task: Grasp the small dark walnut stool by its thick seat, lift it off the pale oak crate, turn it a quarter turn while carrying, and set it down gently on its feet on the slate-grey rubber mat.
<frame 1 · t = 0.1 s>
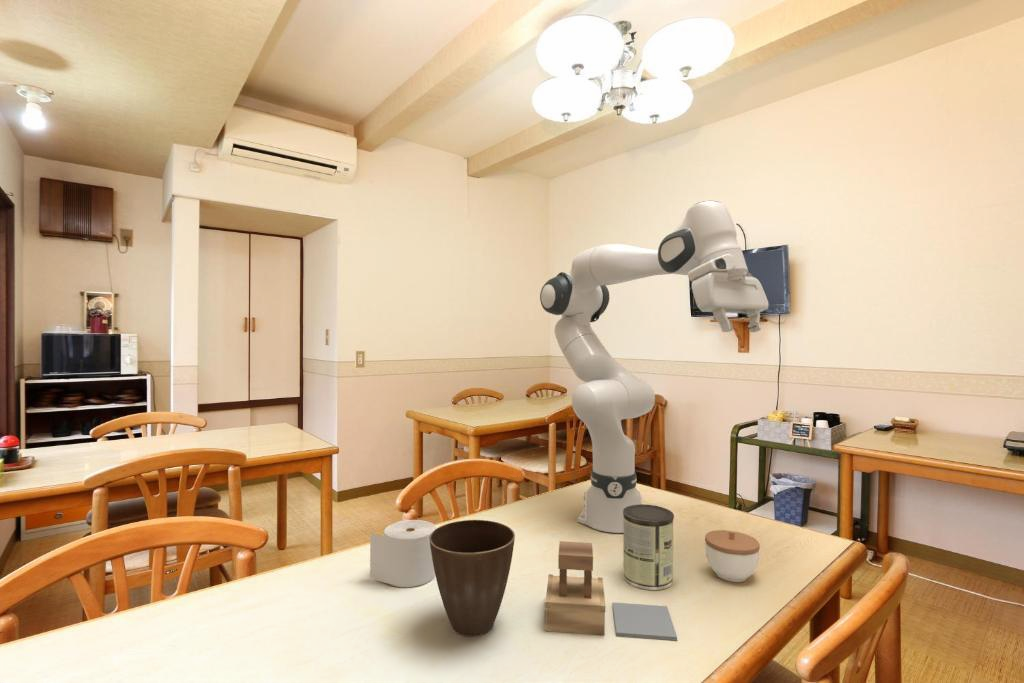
hand: (742, 331, 109), 52 cm above the table, tool tilted 20°, fingers open, 8 cm apart
coffee can: (647, 579, 110), on the table
toilet tissue: (407, 577, 110), on the table
mat: (642, 622, 94), on the table
plant pot: (471, 626, 92), on the table
lidded jar: (731, 576, 112), on the table
stool: (575, 589, 95), point 5 cm above the table, touching crate
crate: (575, 617, 95), on the table
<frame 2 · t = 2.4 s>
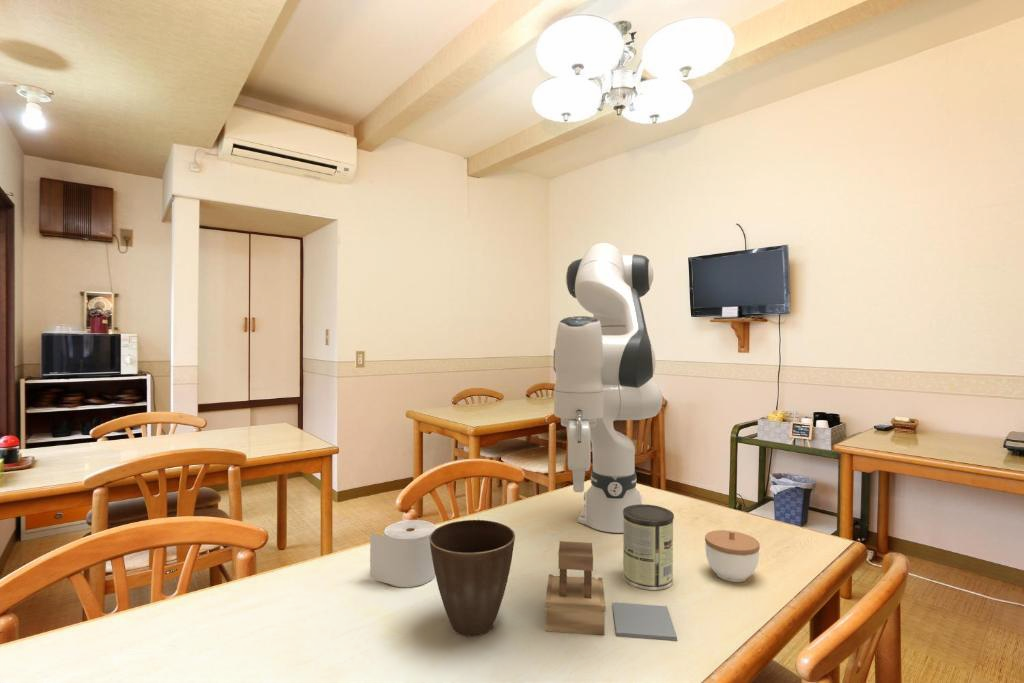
hand: (578, 483, 95), 24 cm above the table, tool pointing down, fingers open, 8 cm apart
nothing on the table moved.
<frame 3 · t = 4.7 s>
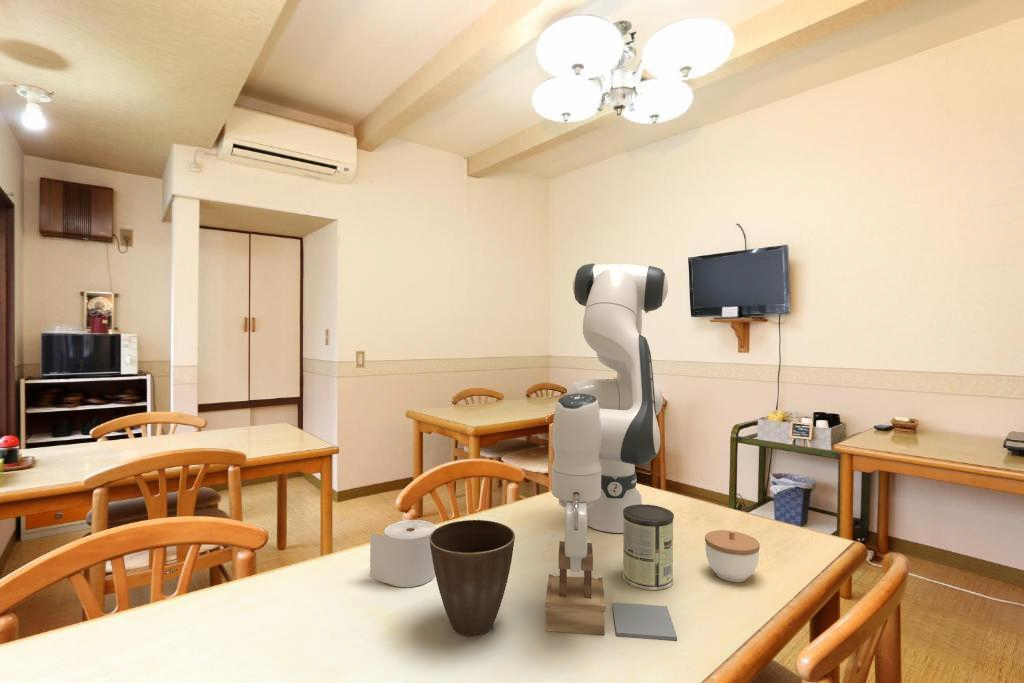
hand: (575, 561, 95), 10 cm above the table, tool pointing down, fingers closed on stool, 6 cm apart
stool: (575, 589, 95), point 5 cm above the table, touching crate, gripper
everything else where it was.
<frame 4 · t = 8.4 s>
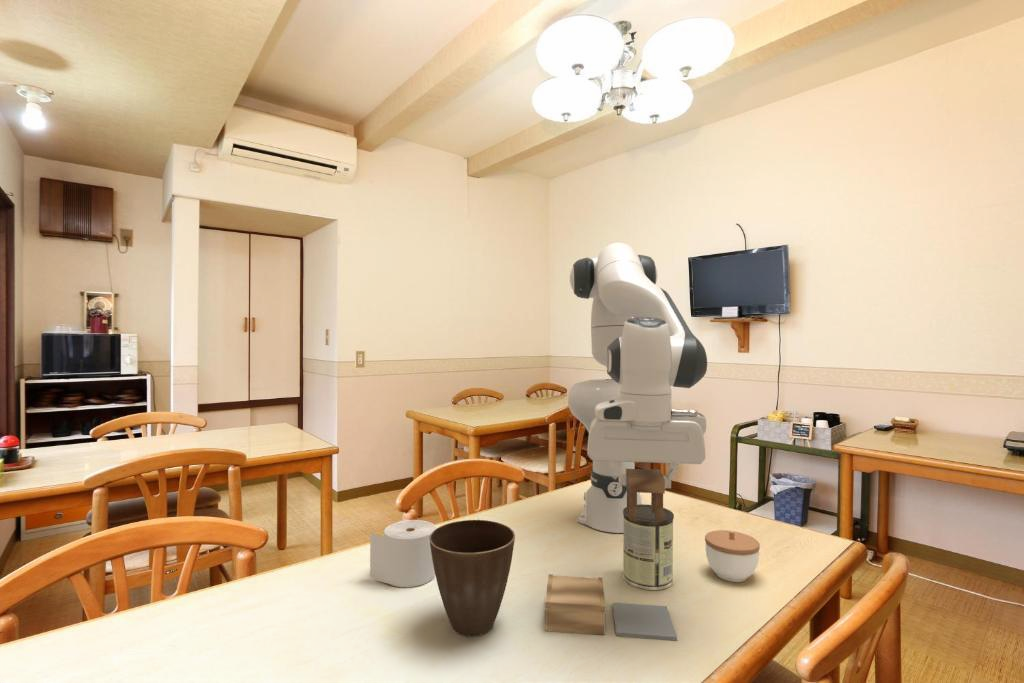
hand: (644, 486, 93), 24 cm above the table, tool pointing down, fingers closed on stool, 6 cm apart
stool: (644, 515, 93), point 19 cm above the table, touching gripper
everything else where it was.
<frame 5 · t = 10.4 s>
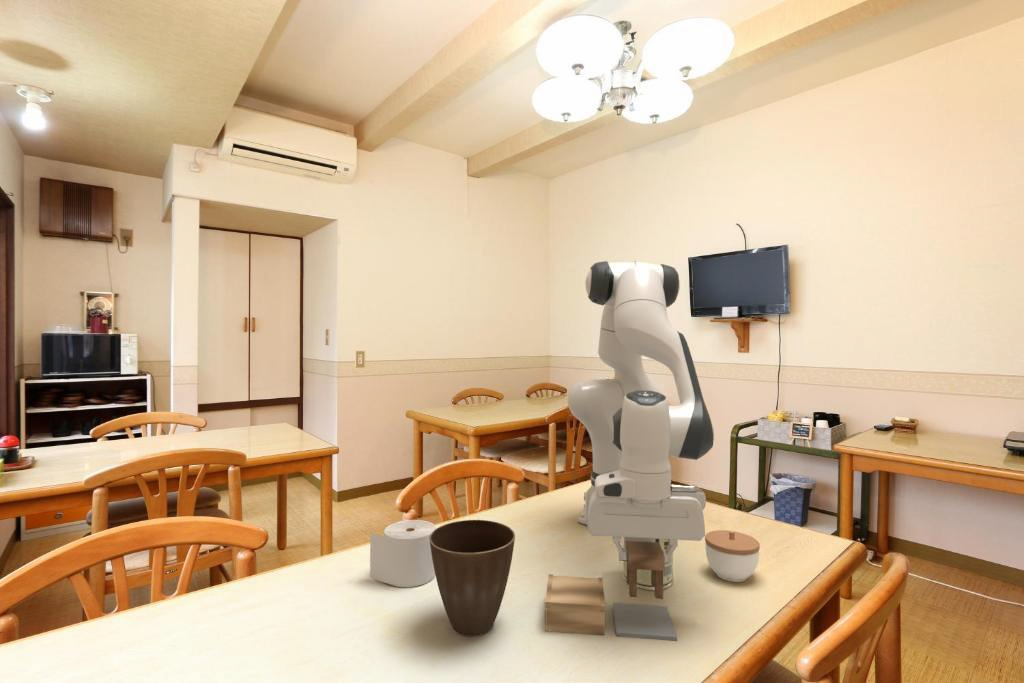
hand: (644, 561, 93), 11 cm above the table, tool pointing down, fingers closed on stool, 6 cm apart
stool: (644, 590, 93), point 6 cm above the table, touching gripper
everything else where it was.
when the fingers open (7 cm above the table, at t = 12.3 s): stool drops 1 cm, resting on mat.
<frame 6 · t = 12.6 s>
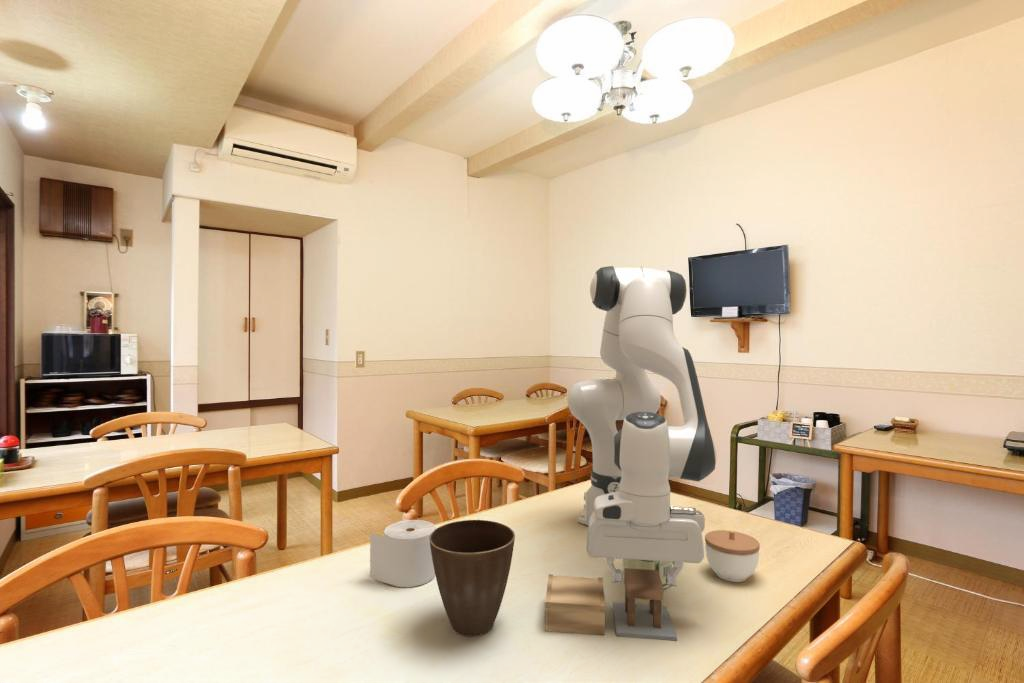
hand: (643, 582, 94), 7 cm above the table, tool pointing down, fingers open, 8 cm apart
stool: (642, 618, 94), point 1 cm above the table, touching mat
everything else where it was.
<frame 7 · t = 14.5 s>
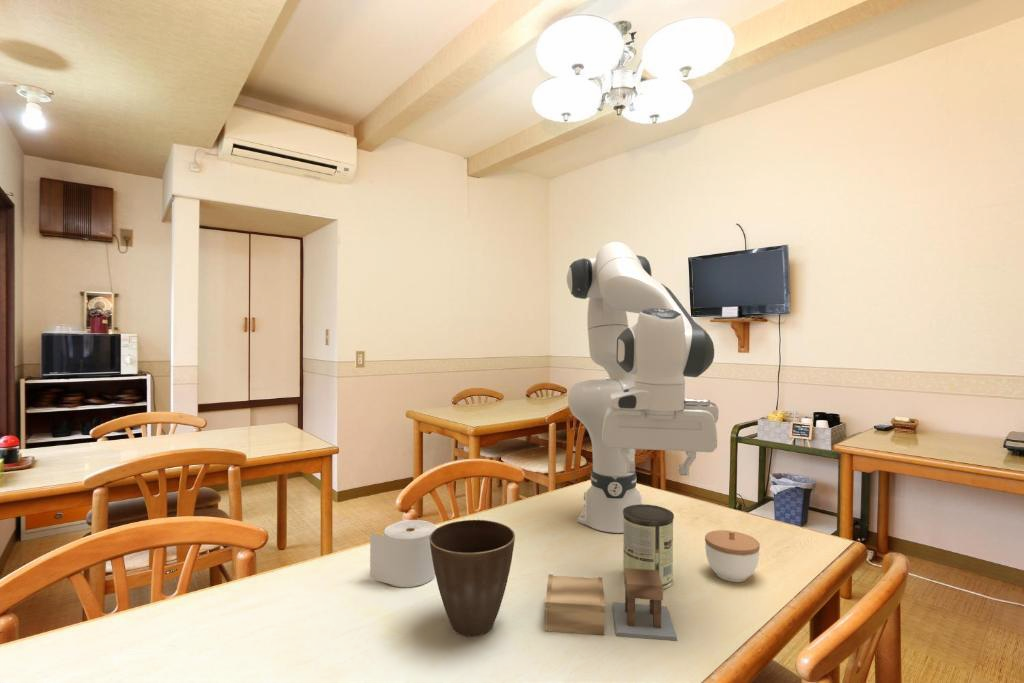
hand: (657, 473, 96), 26 cm above the table, tool pointing down, fingers open, 8 cm apart
nothing on the table moved.
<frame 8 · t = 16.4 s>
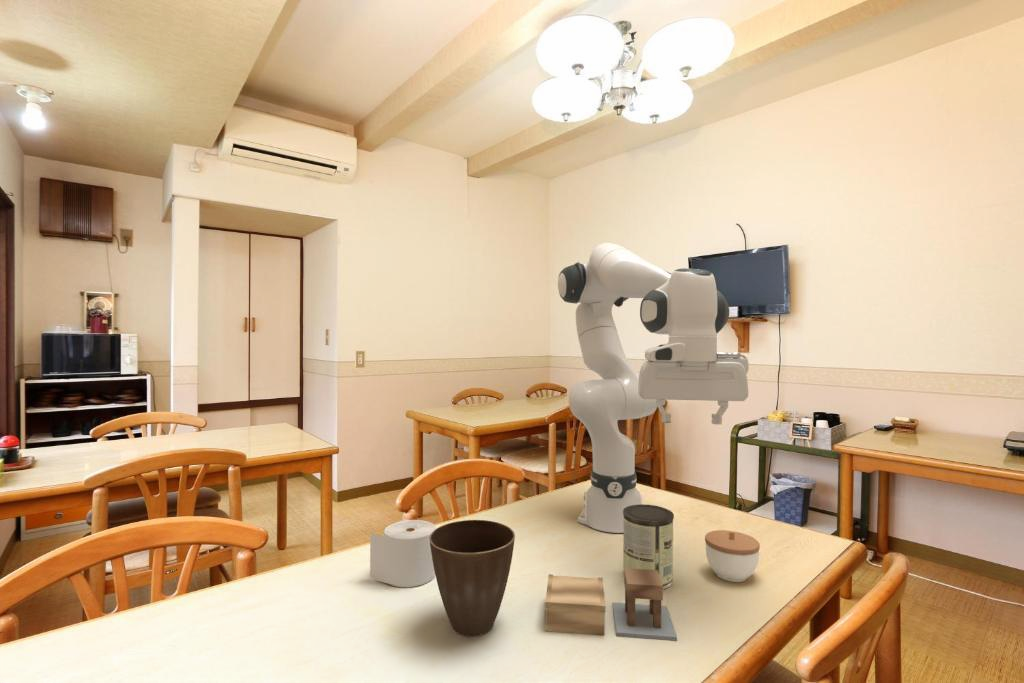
hand: (691, 423, 102), 34 cm above the table, tool pointing down, fingers open, 8 cm apart
nothing on the table moved.
at the end: stool inside the target area on the mat (0.1 cm from its centre), point 0.6 cm above the mat's base; stool tilted 0°; the gripper is holding nothing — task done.
